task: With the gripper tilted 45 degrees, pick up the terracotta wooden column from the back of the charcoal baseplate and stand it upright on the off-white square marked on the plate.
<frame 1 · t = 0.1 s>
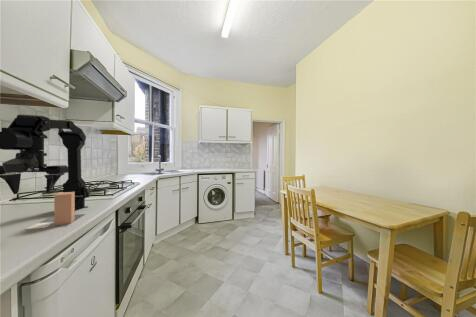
hand: (32, 193, 65), 14 cm above the counter, tool pointing down, fingers open, 9 cm apart
baseplate: (58, 222, 75), on the counter
column: (64, 222, 74), point 1 cm above the counter, touching baseplate
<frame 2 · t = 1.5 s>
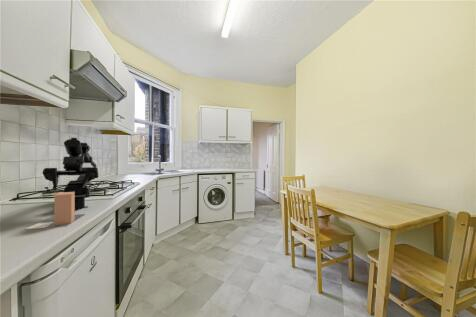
hand: (69, 188, 79), 14 cm above the counter, tool tilted 45°, fingers open, 9 cm apart
nothing on the counter moved.
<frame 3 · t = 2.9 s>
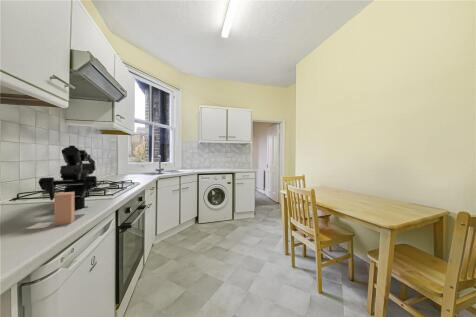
hand: (66, 198, 76), 10 cm above the counter, tool tilted 45°, fingers open, 9 cm apart
nothing on the counter moved.
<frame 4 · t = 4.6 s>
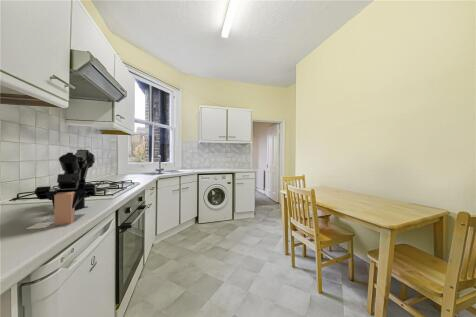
hand: (63, 208, 73), 7 cm above the counter, tool tilted 45°, fingers closed on column, 5 cm apart
column: (64, 222, 74), point 1 cm above the counter, touching baseplate, gripper
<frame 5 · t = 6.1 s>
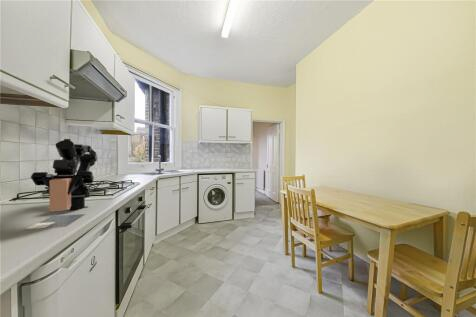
hand: (59, 194, 72), 12 cm above the counter, tool tilted 45°, fingers closed on column, 5 cm apart
column: (60, 208, 73), point 6 cm above the counter, touching gripper
when the fingers open (7 cm above the counter, at t = 8.1 s): column stays where it is, resting on baseplate.
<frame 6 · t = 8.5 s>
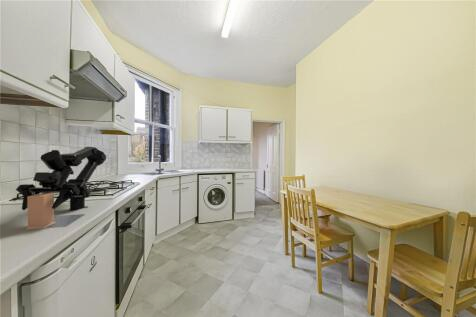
hand: (38, 209, 69), 8 cm above the counter, tool tilted 45°, fingers open, 9 cm apart
column: (41, 225, 70), point 1 cm above the counter, touching baseplate
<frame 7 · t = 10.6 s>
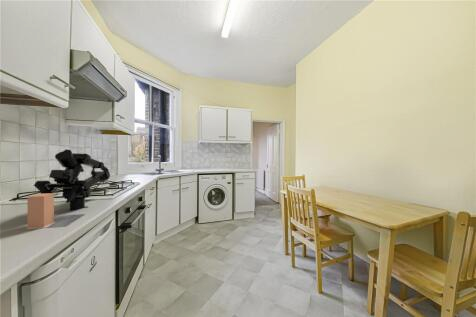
hand: (54, 202, 77), 8 cm above the counter, tool tilted 45°, fingers open, 9 cm apart
nothing on the counter moved.
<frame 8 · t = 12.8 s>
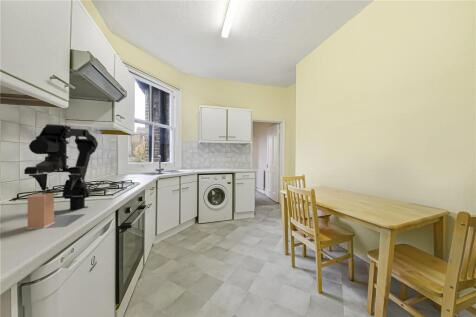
hand: (57, 190, 77), 13 cm above the counter, tool pointing down, fingers open, 9 cm apart
nothing on the counter moved.
at the end: column 0.0 cm from the target spot, point 0.7 cm above the counter; column tilted 0°; the gripper is holding nothing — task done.
